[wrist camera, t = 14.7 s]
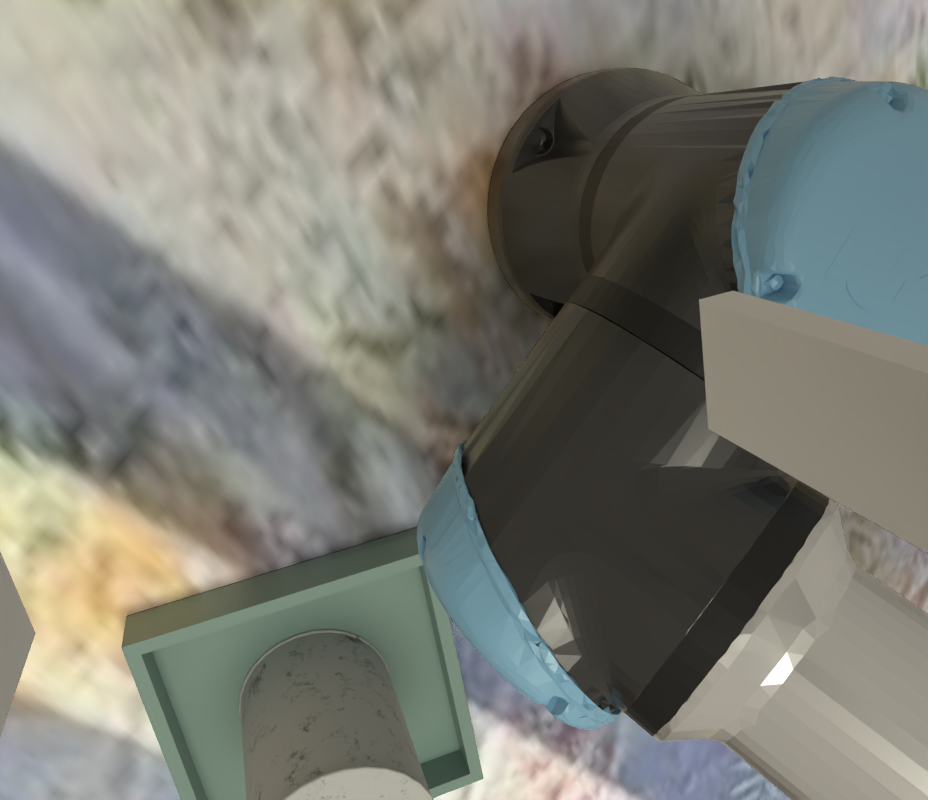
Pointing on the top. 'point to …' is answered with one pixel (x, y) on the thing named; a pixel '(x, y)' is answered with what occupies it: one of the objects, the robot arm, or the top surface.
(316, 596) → the tray
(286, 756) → the speckled white canister
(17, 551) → the top surface
